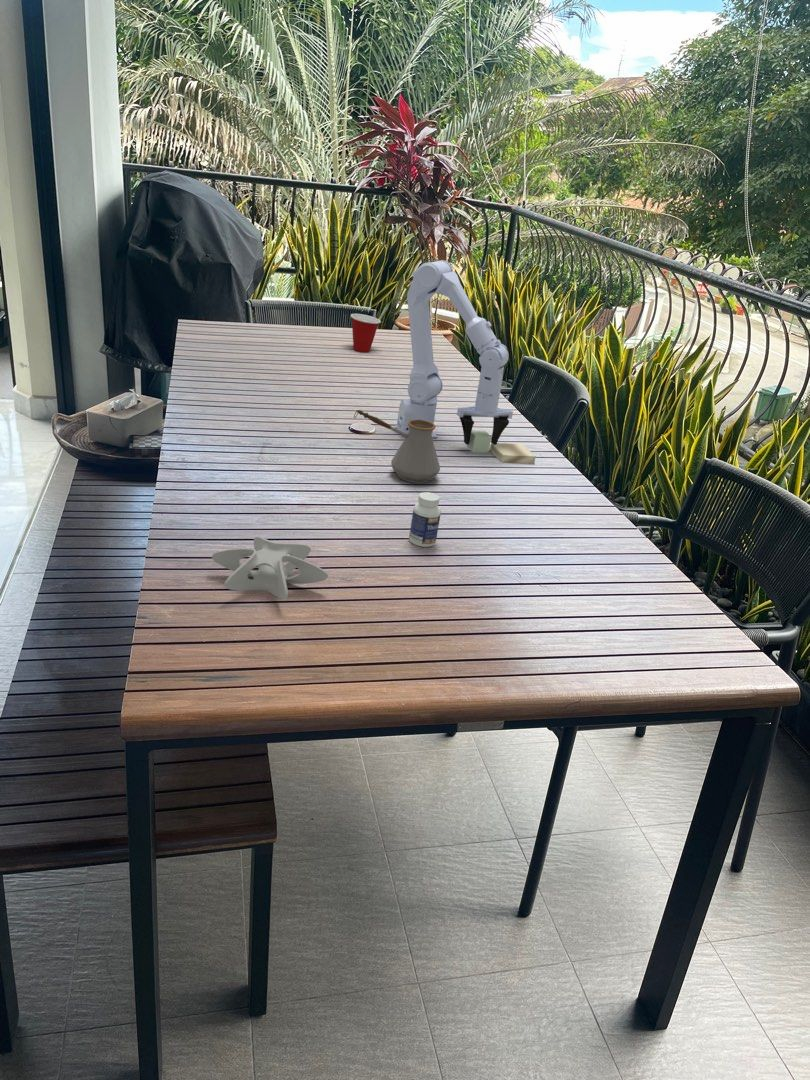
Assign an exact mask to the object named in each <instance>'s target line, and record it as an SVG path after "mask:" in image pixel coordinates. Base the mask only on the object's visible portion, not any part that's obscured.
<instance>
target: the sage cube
mask: <svg viewBox="0 0 810 1080" xmlns="http://www.w3.org/2000/svg"><path fill="white" fill-rule="evenodd" d="M491 438H492V435H491V434H490V433H488V431H486V430H477V429H474V430H472V431H471V436H470V442H469V445H467V444H466V447H467V448H468V449H469V451H471V453H480V454H481V453H482V454H483V453H485V454H490V447H491Z"/></svg>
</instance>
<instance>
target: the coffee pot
mask: <svg viewBox="0 0 810 1080" xmlns="http://www.w3.org/2000/svg"><path fill="white" fill-rule="evenodd" d="M358 415H360V416H363V417H364V419H368V420H370V421H372V422H373V424H374V423H375V425H378V426H381V427H384V428H385V429H388V430H390V431H392V432H395V433H396V434H398V435H400V436H402V437H404V440H403V441H402V442H401V444H400V445H399V447H398V449H397V451H396V453H395V454H394V455H393V458H392V459H391V467H392V470H393V471H394V472H395V473H396V475H397V476H398V477H399V478H400V479H402V480H404V481H406V482H410V483H416V484H417V483H418V484H422V483H428V482H429V481H430V480H432V479H434V478H436V477H437V475H438V474H439V473H440V470H441V466H440V462H439V458H438V454H437V451H436V450H437V449H436V447H435V443H434V438H432V432H434V430H435V429H436V427H437V426H436V424H435V423H434V424H433V423H431V422H428V421H424V420H410V421H409V422H408V426H409V429H410V431H409V433H408V434H407V433H405V432H402V431H400V430H398V429H397V428H396V427H393V426H392V425H390V424H388V423H387V422H385V421H384V420H381V418H378V417H377V416H374V415H371V414H369V413H368V412H363V410H360V409H357V410H356V411H355V412H354V415H353V418H354V419H356V418H357V416H358Z"/></svg>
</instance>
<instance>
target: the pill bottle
mask: <svg viewBox="0 0 810 1080" xmlns="http://www.w3.org/2000/svg"><path fill="white" fill-rule="evenodd" d="M417 501H418V503H417V502H416V503H415V505H414V506H413V509H412V516H411V524H410V527H409V528H410V529H409V536H408V539H409V542H410V543H412V544H413V545H414V546H418V547H423V548H429V547H433V546H434V545H436V543H437V537H438V531H439V526H440V520H441V519H440V518H441V515H442V509H441V508H440V506H439V504H440V496H439V495H438V494H436V493H433V492H428V491H427V492H420V493H419V494H418V499H417Z"/></svg>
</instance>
